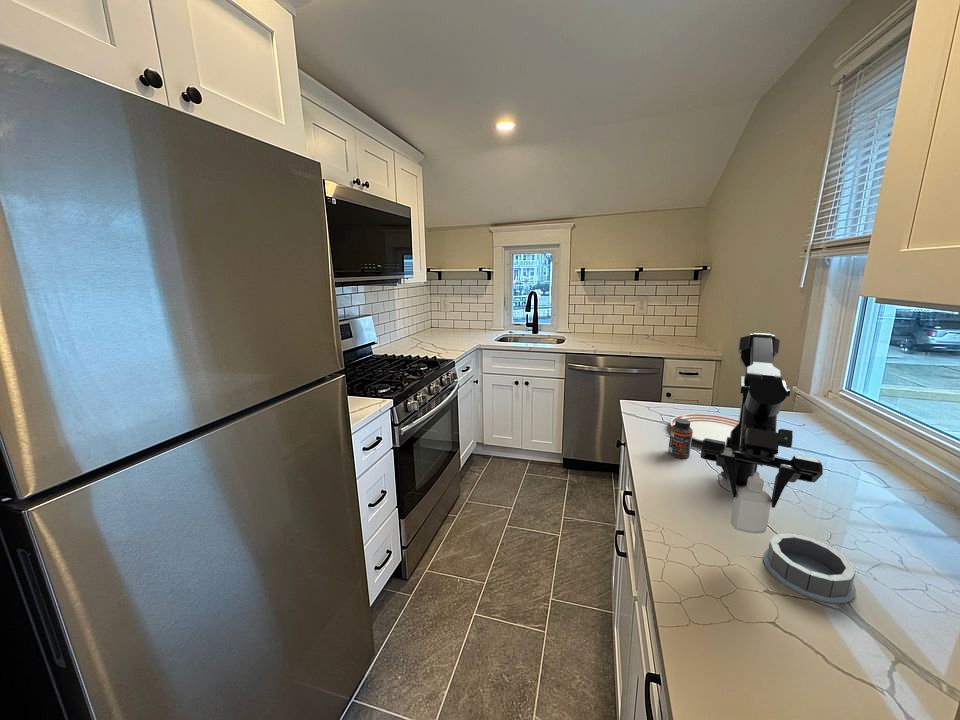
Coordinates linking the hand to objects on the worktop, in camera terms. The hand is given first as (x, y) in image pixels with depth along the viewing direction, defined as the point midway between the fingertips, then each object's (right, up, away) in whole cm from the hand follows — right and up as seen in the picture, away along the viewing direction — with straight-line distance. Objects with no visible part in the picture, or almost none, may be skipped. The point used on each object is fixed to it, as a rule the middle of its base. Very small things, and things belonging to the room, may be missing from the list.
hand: (753, 502), depth 70 cm
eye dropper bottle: (+1, -6, +3) cm, 7 cm away
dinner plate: (+29, 0, +58) cm, 65 cm away
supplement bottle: (+10, -3, +45) cm, 47 cm away
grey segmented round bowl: (+10, -13, 0) cm, 17 cm away
